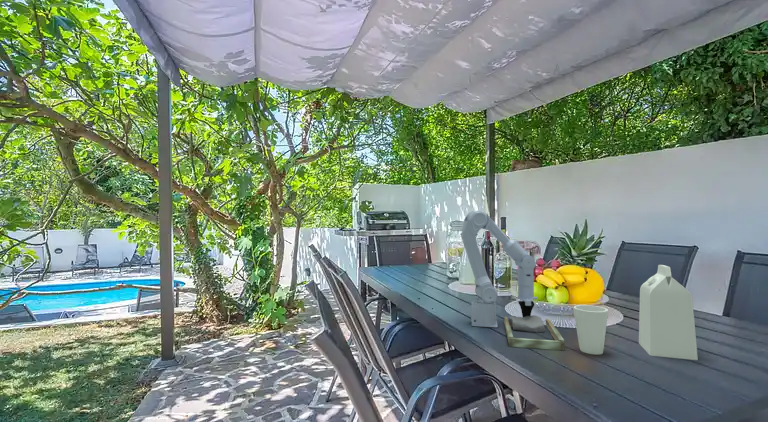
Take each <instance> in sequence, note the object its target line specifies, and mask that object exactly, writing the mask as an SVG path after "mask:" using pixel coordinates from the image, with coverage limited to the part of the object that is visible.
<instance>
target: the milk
mask: <svg viewBox="0 0 768 422" xmlns="http://www.w3.org/2000/svg"><path fill="white" fill-rule="evenodd" d="M671 271H672V269H671V267H670V266H668V265H664V264H658V266H657V271H656V273H655V274H653V275H652V276H650V277H649V278H648V279H647V280H646V281H644V282H643V283H642V284H641V285H640V289H639V314H638V317H639V319H638V322H639V323H638V344H639V345H640V346H641V347H642V348H643V350H644V351H646V353H647V354H648V355H649V356H651V357H652V356H653V357H663V358H670V359H671V358H673V359H680V360H681V359H683V360H692V361H698V346H697V337H696V336H697V335H696V327H695V326H696V324H695V314H694V313H695V312H694V302H693V296H692V293H691V292H690V291H689V290H688V289H687V288H685V287H684V286H683V285H682V284H681V283H680V282H679V281H677V280H676V279H675V278H674V277H673V276H672V272H671Z"/></svg>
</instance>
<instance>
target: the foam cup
mask: <svg viewBox="0 0 768 422" xmlns="http://www.w3.org/2000/svg"><path fill="white" fill-rule="evenodd" d="M573 317H574V321H575V328H576V334H577V335H576V336H577V340H578V347H579V350H580V351H581V352H582V353H585V354H588V355H597V356H598V355H602V354H604V350H605V349H604V348H605V341H606V340H605V339H606V331H607V324H608V323H607V322H608V319H609V309H608V308H606V307H603V306H597V305H593V304H592V305H590V304H589V305H588V304H577V305H574V306H573Z"/></svg>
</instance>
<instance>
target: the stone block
mask: <svg viewBox="0 0 768 422" xmlns="http://www.w3.org/2000/svg"><path fill="white" fill-rule="evenodd" d="M508 321H509V325H510V327H511V330H512V331H513V330H514V331H518V332H519V331H520V332H527V333H529V332H530V333H543V332H546V328H545V327H546V325H545V323H544V321H543V319H542V317H540V316H538V315H535V314H534V315H532V314H531V316H525V317H523V316H516V315H512V316H509V318H508Z"/></svg>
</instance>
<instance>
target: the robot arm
mask: <svg viewBox="0 0 768 422" xmlns="http://www.w3.org/2000/svg"><path fill="white" fill-rule="evenodd" d="M461 229H462V230H461V233H460V236H461V240H462V243H463V245H464V246H463V247H464V249H465V251H466V255H467V258H468V261H469V264H470V267H471V270H472V274H473V277H474V284H475V290H474V291H475V294H476V296H477V298H476V300H471V310H470V311H471V315H470V321H471V326H472V327H481V328H482V327H484V328H499V327H498V321H497V299H498V291H497V289H496V288H495V287H494V285H493V283H492V281H491V279H490V277H489V275H488V273H487V270H486V266H485V263H484V259H483V258H482V255H481V252H480V248H479V245H478V242H477V239H476V237H477V235H478V233H479V232H480V230H485V231H488V232H489V233H491V235H493V237H494V238H495V239H496V240H498V242H500V243H501V244H502V250H503V251H504V252H505V253H506V254H507V255H508V256H509V257H510V258H511V260H513V261H514V263H515V266H516V267H517V294H518V295H517V299H518V301H517V303H518V305H519V307H520V311H521V315H522V316H521V317H525V316H532V312H533V311H532V310H533V308H534V306H535V302H534V300H538V296H535V292H534V291H535V286H534V285H535V284H534V279H535V278H534V274H535V273H534V270H535V268H536V266H537V262H536V261H535V258H534V256H532V255H530V254H528V253H529V251H528V250H525V249H524V248H523V247H522V246H521V245H520V241H519V240H515V239H510V238H509V237H508V236H507V235H506V234H505V233H504V231H503V230H502V229H501V228H500V227H499V225H498V224H496V222H495V221H494V220H493V219H492V218H491V217H490V216H488V215H487V214H486V212H485V211H482V210H476V211H469V212H468V214H467V215H465V217H464V219H463V225H462V228H461ZM519 300H520V301H519Z"/></svg>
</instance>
